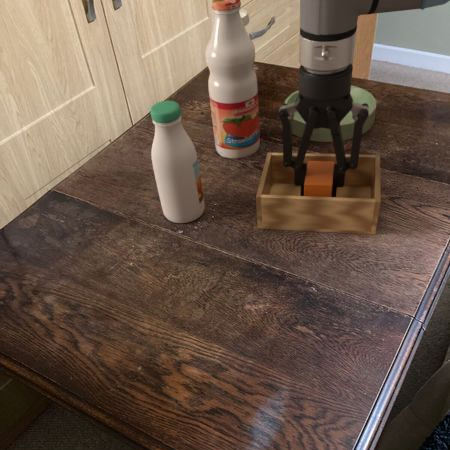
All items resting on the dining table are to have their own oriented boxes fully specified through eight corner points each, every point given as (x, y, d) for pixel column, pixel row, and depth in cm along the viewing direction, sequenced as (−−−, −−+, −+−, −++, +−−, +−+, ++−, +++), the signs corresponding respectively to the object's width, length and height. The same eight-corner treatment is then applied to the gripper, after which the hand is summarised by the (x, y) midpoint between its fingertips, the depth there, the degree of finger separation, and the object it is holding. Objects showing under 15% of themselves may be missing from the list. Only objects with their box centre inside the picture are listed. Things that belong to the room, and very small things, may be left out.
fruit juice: (242, 132, 108) (231, -14, 88) (269, 148, 102) (265, -4, 82) (207, 148, 105) (187, 1, 84) (233, 166, 99) (219, 12, 79)
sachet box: (332, 190, 89) (334, 161, 84) (329, 214, 84) (332, 185, 80) (306, 189, 89) (308, 160, 85) (303, 213, 85) (304, 184, 81)
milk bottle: (196, 227, 87) (177, 120, 72) (157, 221, 89) (131, 116, 75) (211, 201, 92) (196, 96, 77) (173, 196, 94) (152, 93, 79)
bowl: (373, 100, 112) (376, 83, 109) (373, 144, 100) (376, 126, 97) (289, 100, 116) (289, 83, 113) (279, 143, 103) (278, 125, 101)
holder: (375, 186, 90) (380, 154, 85) (375, 234, 81) (380, 202, 76) (268, 183, 94) (267, 152, 89) (257, 228, 85) (255, 196, 80)
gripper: (260, 76, 69) (265, 211, 86) (391, 75, 65) (369, 216, 82) (267, 54, 74) (271, 186, 91) (390, 52, 70) (370, 189, 87)
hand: (318, 200), depth 86 cm, fingers closed on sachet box, 4 cm apart
